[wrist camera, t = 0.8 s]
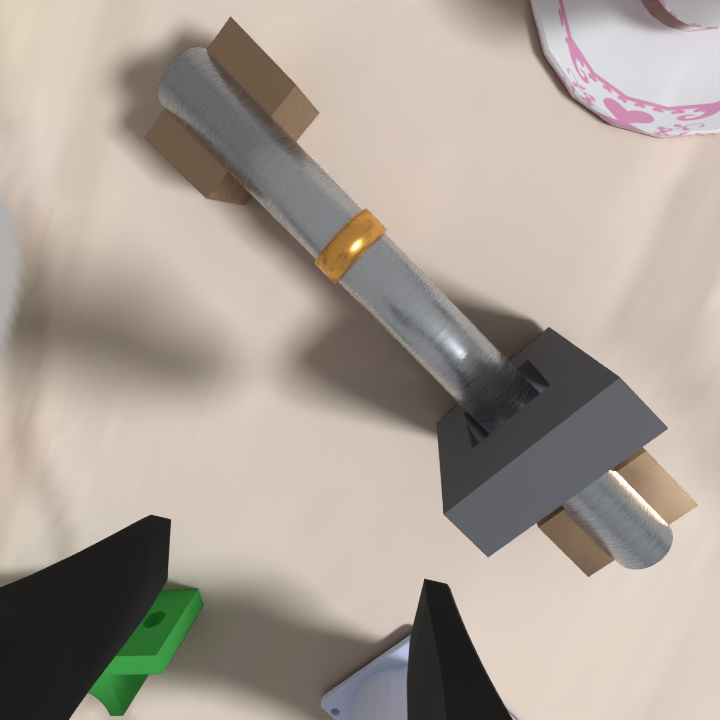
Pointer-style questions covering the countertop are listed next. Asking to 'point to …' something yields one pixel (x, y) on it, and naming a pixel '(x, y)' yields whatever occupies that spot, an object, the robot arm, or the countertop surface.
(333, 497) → the countertop surface
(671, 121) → the teacup
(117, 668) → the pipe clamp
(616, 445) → the collar
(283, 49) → the countertop surface
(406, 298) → the pipe rig
